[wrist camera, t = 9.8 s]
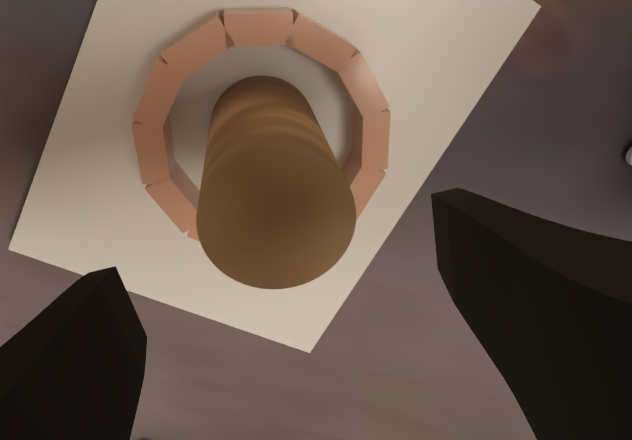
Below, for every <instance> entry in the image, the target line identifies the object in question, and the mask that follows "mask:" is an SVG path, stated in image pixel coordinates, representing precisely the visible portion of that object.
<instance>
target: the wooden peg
mask: <svg viewBox="0 0 632 440" xmlns="http://www.w3.org/2000/svg"><path fill="white" fill-rule="evenodd" d="M196 225H197V233H198V237H199V241H200V243H201V246H202V248H203V250H204V252H205V254H206V255H207V257H208V258H209V259H210V261H211V262H212V263H213V264H214V265H215V266H216V267H217V268H218V269H219V270H220V271H221V272H223V273H224V274H225V275H226V276H228V277H230V278H232V279H233V280H235V281H237V282H240V283H242V284H244V285H248V286H251V287H255V288H261V289H286V288H292V287H296V286H300V285H303V284H305V283H308V282H310V281H312V280H314V279H316V278H318V277H320V276H321V275H323V274H324V273H326V272H327V271H328V270H330V269H331V268H332V267H333V266H334V265H335V264H336V263H337V262H338V261H339V260H340V259H341V257H342V256H343V255H344V253H345V252H346V250H347V248H348V246H349V245H350V243H351V240H352V237H353V235H354V230H355V226H356V206H355V201H354V197H353V194H352V191H351V189H350V187H349V185H348V183H347V181H346V179H345V177H344V174H343V172H342V170H341V168H340V166H339V164H338V162H337V160H336V158H335V156H334V154H333V152H332V150H331V148H330V146H329V144H328V142H327V140H326V137H325V135H324V133H323V131H322V129H321V127H320V125H319V123H318V121H317V119H316V117H315V115H314V113H313V111H312V109H311V107H310V105H309V103H308V101H307V99H306V98H305V96H304V95H303V94H302V93H301V92H300V91H299V90H298V89H297V88H296V87H295V86H293V85H292V84H290V83H289V82H287V81H285V80H283V79H280V78H277V77H273V76H263V75H259V76H252V77H248V78H244V79H242V80H239V81H238V82H236V83H234V84H232V85H231V86H230V87H229V88H227V89H226V90H225V91H224V92H223V93H222V95H221V96H220V97H219V99H218V100H217V102H216V104H215V106H214V109H213V111H212V116H211V121H210V128H209V134H208V141H207V148H206V154H205V161H204V167H203V174H202V180H201V187H200V194H199V200H198V207H197V216H196Z"/></svg>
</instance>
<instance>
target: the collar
mask: <svg viewBox="0 0 632 440" xmlns="http://www.w3.org/2000/svg"><path fill="white" fill-rule="evenodd" d="M223 15H224V17H223V16H222V14H221V13H220V11H218V12H217V13H215V14H214V15H212V16H211V17H209V18H208V19H206V20H205V21H203V22H202V23H200V24H199V25H197V26H196V27H194V28H193V29H192V30H190V31H189V32H187V33H186V34H184V35H183V36H181V37H180V38H178V39H177V40H175V41H174V42H172V43H171V44H169V45H168V46H167V47H166V48H165V50H164V51H163V52H162V53H161V54H160V56H159V57H158V58H157V60H156V62H155V65H154V67H153V69H152V72H151V74H150V77H149V79H148V81H147V84H146V86H145V89H144V91H143V93H142V96H141V98H140V101H139V103H138V105H137V108H136V110H135V113H134V115H133V117H132V119H133V120H134V121H133V123H132V130H133V136H134V141H135V147H136V152H137V158H138V163H139V169H140V174H141V180H142V184H147V185H146V187H145V190H146V191H147V193H148V194H149V195H150V196H151V197H152V198H153V200H154V201H155V202H156V203H157V204H158V205H159V206H160V208H161V209H162V210H163V211H164V212H165V213H166V215H167V216H168V217H169V218H170V219H171V220H172V222H173V223H174V224H175V225H176V226H177V227H178V228H179V230H180V231H181V232H182V233H184V232H186V231H188V235H187V237H189V238H192V239H194V240H197V241H199V237H198V233H197V225H196V216H197V207H198V200H199V194H200V191H199V189H198V188H197V187H196V186H195V184H194V183H193V182H192V181H191V179H190V178H189V177H188V176H187V174H186V173H185V172H184V171H183V169H182V168H181V167H180V166H179V164H178V163H177V162H176V160H175V153H174V146H173V139H172V132H171V126H170V119H169V112H170V109H171V107H172V105H173V102H174V100H175V98H176V96H177V93H178V91H179V89H180V87H181V84H182V82H183V80H184V78H186V77H187V76H189V75H190V74H192V73H193V72H195V71H196V70H198V69H199V68H201V67H202V66H204V65H205V64H207V63H208V62H210V61H211V60H213V59H214V58H216V57H217V56H219V55H220V54H222V53H223V52H225V51H226V50H228V49H229V48H231V47H249V46H278V45H290V46H292V47H294V48H295V49H297V50H299V51H301V52H302V53H304V54H306V55H308V56H310V57H311V58H313V59H315V60H317V61H319V62H320V63H322V64H324V65H326V66H328V67H329V68H331V69H333V70H334V71H335V73H336V75H337V77H338V78H339V80H340V82H341V84H342V86H343V87H344V89H345V91H346V93H347V94H348V96H349V98H350V100H351V101H352V103H353V146H352V152H351V154H350V156H349V157H348V159H347V161H346V162H345V164H344V166H343V167H342V169H341V170H342V172H343V174H344V177H345V179H346V181H347V183H348V185H349V187H350V189H351V191H352V194H353V197H354V201H355V206H356V221H357V219H358V218H359V216H360V214H361V213H362V211H363V210H364V208H365V207H366V205H367V203H368V202H369V200H370V199H371V197H372V196H373V194H374V192H375V191H376V189H377V188H378V186H379V184H380V183H381V181H382V180H383V178H384V177H385V175H386V173H385V172H384V170H383V169H388V153H389V135H390V116H391V111H390V110H389V109H388V107H389V104H388V102H387V100H386V99H385V97H384V95H383V93H382V91H381V89H380V87H379V85H378V84H377V82H376V80H375V78H374V76H373V74H372V72H371V70H370V68H369V67H368V65H367V63H366V61H365V59H364V57H363V55H362V53H361V52H360V51H359V50H358V49H356V48H357V47H355V46H354V45H353V44H352V43H350V42H349V41H348V40H347V39H345V38H343V37H341V36H340V35H338V34H336V33H335V32H333V31H331V30H329V29H328V28H326V27H324V26H323V25H321V24H319V23H318V22H316V21H314V20H312V19H311V18H309V17H307V16H306V15H304V14H302V13H300V12H299V11H297V10H295V9H293V11H291V10H290V9H289V8H288V7H279V8H241V9H225V10H224V14H223Z"/></svg>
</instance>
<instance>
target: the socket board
mask: <svg viewBox="0 0 632 440" xmlns="http://www.w3.org/2000/svg"><path fill="white" fill-rule="evenodd" d="M279 7H288V8H289V9H290V10H291V11H293V9H295V10H297V11H299V12H300V13H302V14H304V15H306V16H307V17H309V18H311V19H312V20H314V21H316V22H318V23H319V24H321V25H323V26H324V27H326V28H328V29H329V30H331V31H333V32H335V33H336V34H338V35H340V36H341V37H343V38H345V39H347V40H348V41H349V42H350V43H352V44H353V45H354V46H355V47H357V48H356V49H358V50H359V51H360V52H361V53H362V55H363V57H364V59H365V61H366V63H367V65H368V67H369V68H370V70H371V72H372V74H373V76H374V78H375V80H376V82H377V84H378V85H379V87H380V89H381V91H382V93H383V95H384V97H385V99H386V100H387V102H388V104H389V107H388V109H389V110H390V111H391V116H390V135H389V153H388V169H383V170H384V172H385V173H386V175H385V177H384V178H383V180H382V181H381V183H380V184H379V186H378V188H377V189H376V191H375V192H374V194H373V196H372V197H371V199H370V200H369V202H368V203H367V205H366V207H365V208H364V210H363V211H362V213H361V214H360V216H359V218H358V219H357V221H356V226H355V230H354V235H353V237H352V240H351V243H350V245H349V246H348V248H347V250H346V252H345V253H344V255H343V256H342V257H341V259H340V260H339V261H338V262H337V263H336V264H335V265H334V266H333V267H332V268H331V269H330V270H328V271H327V272H326V273H324V274H323V275H321V276H320V277H318V278H316V279H314V280H312V281H310V282H308V283H305V284H303V285H300V286H296V287H292V288H286V289H261V288H255V287H251V286H248V285H244V284H242V283H240V282H237V281H235V280H233V279H232V278H230V277H228V276H226V275H225V274H224V273H223V272H221V271H220V270H219V269H218V268H217V267H216V266H215V265H214V264H213V263H212V262H211V261H210V259H209V258H208V257H207V255H206V254H205V252H204V250H203V248H202V246H201V243H200V241H197V240H194V239H192V238H189V237H187V235H188V231H186V232H184V233H182V232H181V231H180V230H179V228H178V227H177V226H176V225H175V224H174V223H173V222H172V220H171V219H170V218H169V217H168V216H167V215H166V213H165V212H164V211H163V210H162V209H161V208H160V206H159V205H158V204H157V203H156V202H155V201H154V200H153V198H152V197H151V196H150V195H149V194H148V193H147V191H146V190H145V187H146V185H147V184H142V180H141V174H140V169H139V163H138V158H137V152H136V147H135V141H134V136H133V130H132V123H133V121H134V120H133V119H132V117H133V115H134V113H135V110H136V108H137V105H138V103H139V101H140V98H141V96H142V93H143V91H144V89H145V86H146V84H147V81H148V79H149V77H150V74H151V72H152V69H153V67H154V65H155V62H156V60H157V58H158V57H159V56H160V54H161V53H162V52H163V51H164V50H165V48H166V47H167V46H168V45H169V44H171V43H172V42H174V41H175V40H177V39H178V38H180V37H181V36H183V35H184V34H186V33H187V32H189V31H190V30H192V29H193V28H194V27H196V26H197V25H199V24H200V23H202V22H203V21H205V20H206V19H208V18H209V17H211V16H212V15H214V14H215V13H217V12H218V11H220V13H221V14H222V16H223V17H224V15H223V14H224V10H225V9H241V8H279ZM540 8H541V6H540V5H539V4H537V3H536V2H534V1H533V0H97V3H96V6H95V9H94V11H93V14H92V17H91V20H90V22H89V25H88V28H87V31H86V34H85V36H84V39H83V42H82V45H81V48H80V50H79V53H78V56H77V59H76V62H75V64H74V67H73V70H72V73H71V76H70V78H69V81H68V84H67V87H66V90H65V92H64V95H63V98H62V101H61V103H60V106H59V109H58V112H57V115H56V117H55V120H54V123H53V126H52V129H51V131H50V134H49V137H48V140H47V143H46V145H45V148H44V151H43V154H42V157H41V159H40V162H39V165H38V168H37V171H36V173H35V176H34V179H33V182H32V184H31V187H30V190H29V193H28V196H27V198H26V201H25V204H24V207H23V210H22V212H21V215H20V218H19V221H18V224H17V226H16V229H15V232H14V235H13V238H12V240H11V243H10V246H9V249H8V250H11V251H14V252H17V253H20V254H23V255H26V256H29V257H32V258H35V259H37V260H40V261H43V262H46V263H49V264H52V265H55V266H58V267H61V268H64V269H67V270H70V271H72V272H75V273H78V274H81V275H86V274H87V273H89V272H93V271H97V270H102V269H106V268H110V267H115V266H116V268H117V270H118V273H119V275H120V277H121V279H122V282H123V284H124V286H125V288H126V290H128V291H131V292H134V293H136V294H139V295H142V296H145V297H148V298H151V299H154V300H157V301H160V302H163V303H166V304H168V305H171V306H174V307H177V308H180V309H183V310H186V311H189V312H192V313H195V314H198V315H201V316H203V317H206V318H209V319H212V320H215V321H218V322H221V323H224V324H227V325H230V326H233V327H235V328H238V329H241V330H244V331H247V332H250V333H253V334H256V335H259V336H262V337H265V338H267V339H270V340H273V341H276V342H279V343H282V344H285V345H288V346H291V347H294V348H297V349H299V350H302V351H305V352H308V353H310V352H311V350H312V349H313V347H314V346H315V344H316V343H317V341H318V340H319V338H320V337H321V335H322V334H323V332H324V331H325V329H326V328H327V326H328V325H329V323H330V322H331V320H332V319H333V317H334V316H335V314H336V313H337V311H338V310H339V308H340V307H341V305H342V304H343V302H344V301H345V299H346V298H347V296H348V295H349V293H350V292H351V290H352V289H353V287H354V286H355V284H356V283H357V281H358V280H359V278H360V277H361V275H362V274H363V273H364V271H365V270H366V268H367V267H368V265H369V264H370V262H371V261H372V259H373V258H374V256H375V255H376V253H377V252H378V250H379V249H380V247H381V246H382V244H383V243H384V241H385V240H386V238H387V237H388V235H389V234H390V232H391V231H392V229H393V228H394V226H395V225H396V223H397V222H398V220H399V219H400V217H401V216H402V214H403V213H404V211H405V210H406V208H407V207H408V205H409V204H410V202H411V201H412V199H413V198H414V196H415V195H416V193H417V192H418V190H419V189H420V187H421V186H422V184H423V183H424V181H425V180H426V178H427V177H428V175H429V174H430V172H431V171H432V169H433V168H434V166H435V165H436V163H437V162H438V160H439V159H440V157H441V156H442V154H443V153H444V151H445V150H446V148H447V147H448V145H449V144H450V142H451V141H452V139H453V138H454V136H455V135H456V133H457V132H458V130H459V129H460V127H461V126H462V124H463V123H464V121H465V120H466V118H467V117H468V115H469V114H470V112H471V111H472V109H473V108H474V106H475V105H476V103H477V102H478V100H479V99H480V98H481V96H482V95H483V93H484V92H485V90H486V89H487V87H488V86H489V84H490V83H491V81H492V80H493V78H494V77H495V75H496V74H497V72H498V71H499V69H500V68H501V66H502V65H503V63H504V62H505V60H506V59H507V57H508V56H509V54H510V53H511V51H512V50H513V48H514V47H515V45H516V44H517V42H518V41H519V39H520V38H521V36H522V35H523V33H524V32H525V30H526V29H527V27H528V26H529V24H530V23H531V21H532V20H533V18H534V17H535V15H536V14H537V12H538V11H539V9H540ZM259 75H263V76H273V77H277V78H280V79H283V80H285V81H287V82H289V83H290V84H292V85H293V86H295V87H296V88H297V89H298V90H299V91H300V92H301V93H302V94H303V95H304V96H305V98H306V99H307V101H308V103H309V105H310V107H311V109H312V111H313V113H314V115H315V117H316V119H317V121H318V123H319V125H320V127H321V129H322V131H323V133H324V135H325V137H326V140H327V142H328V144H329V146H330V148H331V150H332V152H333V154H334V156H335V158H336V160H337V162H338V164H339V166H340V168H341V169H342V167H343V166H344V164H345V162H346V161H347V159H348V157H349V156H350V154H351V152H352V146H353V103H352V101H351V100H350V98H349V96H348V94H347V93H346V91H345V89H344V87H343V86H342V84H341V82H340V80H339V78H338V77H337V75H336V73H335V71H334V70H333V69H331V68H329V67H328V66H326V65H324V64H322V63H320V62H319V61H317V60H315V59H313V58H311V57H310V56H308V55H306V54H304V53H302V52H301V51H299V50H297V49H295V48H294V47H292V46H290V45H278V46H249V47H231V48H229V49H228V50H226V51H225V52H223V53H222V54H220V55H219V56H217V57H216V58H214V59H213V60H211V61H210V62H208V63H207V64H205V65H204V66H202V67H201V68H199V69H198V70H196V71H195V72H193V73H192V74H190V75H189V76H187V77H186V78H184V80H183V82H182V84H181V87H180V89H179V91H178V93H177V96H176V98H175V100H174V102H173V105H172V107H171V109H170V112H169V119H170V126H171V132H172V139H173V146H174V153H175V160H176V162H177V163H178V164H179V166H180V167H181V168H182V169H183V171H184V172H185V173H186V174H187V176H188V177H189V178H190V179H191V181H192V182H193V183H194V184H195V186H196V187H197V188H198V189H199V191H200V187H201V180H202V174H203V167H204V161H205V154H206V148H207V141H208V134H209V128H210V121H211V116H212V111H213V109H214V106H215V104H216V102H217V100H218V99H219V97H220V96H221V95H222V93H223V92H224V91H225V90H226V89H227V88H229V87H230V86H231V85H232V84H234V83H236V82H238V81H239V80H242V79H244V78H248V77H252V76H259Z"/></svg>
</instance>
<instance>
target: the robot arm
mask: <svg viewBox="0 0 632 440" xmlns="http://www.w3.org/2000/svg"><path fill="white" fill-rule="evenodd" d="M626 162H627V163H628V164H629V165H631V166H632V147H631V148H630V149H629V150H628V152H627V154H626ZM431 197H432V208H433V220H434V231H435V242H436V254H437V265H438V270H439V272H440V275H441V277H442V279H443V281H444V283H445V285H446V288H447V290H448V292H449V294H450V296H451V298H452V300H453V302H454V304H455V305H456V307H457V308H458V310H459V311H460V313H461V315H462V316H463V318H464V319H465V321H466V322H467V324H468V325H469V327H470V328H471V330H472V331H473V333H474V334H475V336H476V337H477V339H478V340H479V342H480V343H481V345H482V346H483V348H484V349H485V351H486V352H487V354H488V355H489V357H490V358H491V360H492V361H493V363H494V364H495V365H496V367H497V368H498V370H499V371H500V373H501V374H502V376H503V377H504V379H505V381H506V382H507V384H508V386H509V387H510V389H511V391H512V392H513V394H514V396H515V398H516V400H517V402H518V403H519V405H520V407H521V409H522V411H523V413H524V415H525V417H526V419H527V421H528V423H529V425H530V426H531V428H532V430H533V432H534V434H535V436H536V438H537V440H632V242H630V241H625V240H620V239H616V238H611V237H607V236H603V235H598V234H594V233H590V232H586V231H582V230H578V229H575V228H571V227H568V226H565V225H561V224H558V223H555V222H552V221H548V220H545V219H542V218H539V217H537V216H534V215H531V214H528V213H525V212H522V211H520V210H517V209H514V208H512V207H509V206H506V205H504V204H501V203H499V202H496V201H494V200H491V199H488V198H486V197H483V196H481V195H478V194H475V193H473V192H470V191H467V190H464V189H460V188H455V189H450V190H446V191H442V192H437V193H433V194H431ZM146 346H147V336H146V333H145V331H144V329H143V327H142V324H141V322H140V320H139V318H138V315H137V313H136V311H135V309H134V306H133V304H132V302H131V300H130V297H129V295H128V293H127V291H126V288H125V286H124V284H123V282H122V279H121V277H120V275H119V273H118V270H117V268H116V266H115V267H110V268H106V269H102V270H97V271H93V272H89V273H87V274H86V275H84V276H83V277H81V278H80V279H79V280H77V281H76V282H75V283H74V284H73V285H71V286H70V287H69V288H68V289H67V290H66V291H64V292H63V293H62V294H61V295H60V296H59V297H58V298H56V299H55V300H54V301H53V302H52V303H51V304H50V305H49V306H47V307H46V308H45V309H44V310H43V311H42V312H41V313H40V314H38V315H37V316H36V317H35V318H34V319H33V320H32V321H31V322H29V323H28V324H27V325H26V326H25V327H24V328H23V329H22V330H20V331H19V332H18V333H17V334H16V335H14V336H13V337H12V338H11V339H9V340H8V341H7V342H6V343H5V344H3V345H2V346H1V347H0V440H130V436H131V431H132V427H133V423H134V419H135V415H136V410H137V406H138V402H139V397H140V393H141V388H142V384H143V379H144V372H145V361H146Z"/></svg>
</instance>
